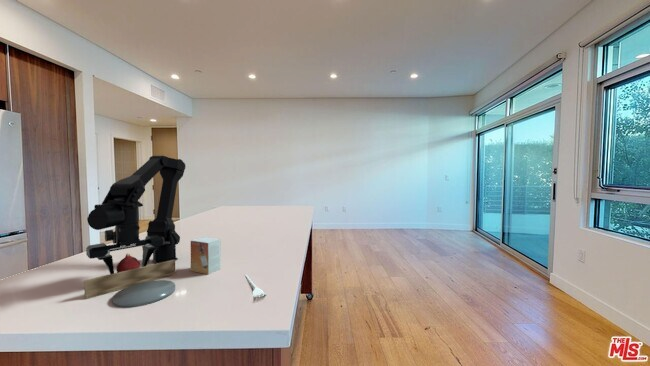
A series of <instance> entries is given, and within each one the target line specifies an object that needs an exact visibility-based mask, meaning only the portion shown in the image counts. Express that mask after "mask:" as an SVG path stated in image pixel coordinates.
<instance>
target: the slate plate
mask: <svg viewBox="0 0 650 366" xmlns="http://www.w3.org/2000/svg"><path fill="white" fill-rule="evenodd" d="M175 291H176V284H175V282H174V281H171V280H164V279H163V280H162V279H158V280H154V281H148V282H143V283H139V284H135V285H132V286H129V287H127V288H124V289H121V290H118V291H116V292H115V294H113V296H112V304H113V305H114V306H116V307H120V308H133V307H142V306H146V305H150V304H153V303H156V302H159V301H162V300H163V299H166V298H168V297H169V296H171V295H172V294H173V293H174V292H175Z"/></svg>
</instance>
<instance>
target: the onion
mask: <svg viewBox="0 0 650 366" xmlns="http://www.w3.org/2000/svg"><path fill="white" fill-rule="evenodd" d="M140 267H141V264H140V261H139V259H137V258H136V257H134V256H132V255H131V254H130V253H126V254H125V256H124V257H123V258H122V259H121V260H120V261H118V263H117V265H116V273H118V272H123V271H127V270H131V269H135V268H140Z"/></svg>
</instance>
